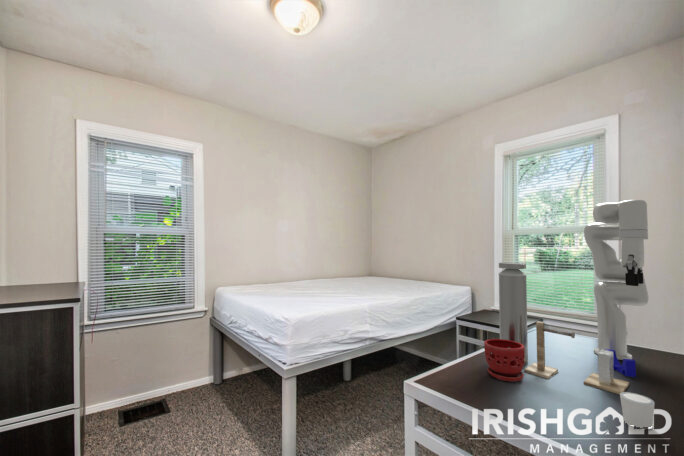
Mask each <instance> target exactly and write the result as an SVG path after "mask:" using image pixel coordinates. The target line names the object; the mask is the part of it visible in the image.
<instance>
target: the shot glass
mask: <svg viewBox="0 0 684 456" xmlns="http://www.w3.org/2000/svg"><path fill="white" fill-rule="evenodd" d="M619 398H620V404H621V410H622V419H623V422H624V421H625V422H624V423H625V424H626V423H627V424H626V425H628V424H629V425H628V426H630V425H634V426H636V427H640V428H643V427H651V426H654V425H653V424H654V415H655V414H654V413H655V401H654V400H653V399H651V398H650V397H648V396H646V395H643V394H638V393H635V392H629V391H624V392H622V393H620V394H619Z"/></svg>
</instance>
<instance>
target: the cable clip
mask: <svg viewBox="0 0 684 456" xmlns="http://www.w3.org/2000/svg"><path fill="white" fill-rule="evenodd" d="M604 350H608V351H612V352H613V361H614V371H616V372H618V373H620V374H621V375H623V376H625V377H629V376H630V377H631V378H633V377H634V378H636V377H637V372H636V370H637V367H636V363H637V362H636V360H635V359H634V358H632V359H623V360H622V363H620V360H618V359H617V357H616V353H615V350H611V349H604Z"/></svg>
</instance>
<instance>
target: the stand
mask: <svg viewBox="0 0 684 456" xmlns="http://www.w3.org/2000/svg"><path fill="white" fill-rule="evenodd" d="M535 323H536V362H534V363H532V364H530V365H527V367H525V368H524V370H523V371H524V373H527V374H531V375H534V376H537V377H540V378H544V379H547V380H549V379H551V378H552V377H553V376H554V375H556V374H557V373H558V372H559V369H558V368H556V367H552V366H548V365H546V350H545V348H546V346H545V343H546V342H545V332H547V333H552V334H557V335H562V336H567V337H571V339H575V336H576V333H575V332H574V331H572V332H568V331H567V332H566V331H561V330H558V329H551V328H545V322H544V321H539V320H537V321H536V322H535Z"/></svg>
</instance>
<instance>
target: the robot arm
mask: <svg viewBox="0 0 684 456" xmlns="http://www.w3.org/2000/svg"><path fill="white" fill-rule="evenodd" d="M592 217H593V219H594V221H595V222H591V223H588V224H587V225H585V226H584V229H583V234H584V235H583V236H584V240H585V243H586V245H587V246H588V248H589V250H590V252H591V255H592V260H593V266H594V267H593V268H594V273H595V275H596V277H597V279H598V280H601V281H600V282H597V283H596V284H595V285H594V286H593V294H594V297H595V302H596V317H597V318H596V319H597V321H596V322H597V347H595V348H593V352H594V353H595V354H597V355H598V353H599V352H600V351H601V350H602V349H603V350H604V349H611V350H615V353H616V357H617V359H618V361H623V359H633V355H632V354H630V353H629V352H628V345H627V344H628V342H627V341H628V338H627V337H628V336H627V317H626V314H625V312H624V310H622V309H621V308H620V307H619V306H620V305H621V306H622V305H623V306H631V307H632V306H634V307H635V306H636V307H643V306H646V305H647V304H648V303H649V294H648V293H649V292H648V288H647V284H646V280H645V275H644V272H643V271H644V270H643V267H644V266H645V244H644V243H645V242H644V241H645V240H649V226H648V204H647V202H646V200H643V199H628V200H622V201H619V202H602V203H597V204H596V205H595V206H594V207H593V210H592ZM605 241H621V251H620V252H621V253H620V254H621V255H620V256H621V257H620V259H618V258H617V252H616V250H615V249H614V248H613V247H612V246H611V245H609V244H608V243H607V242H605Z"/></svg>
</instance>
